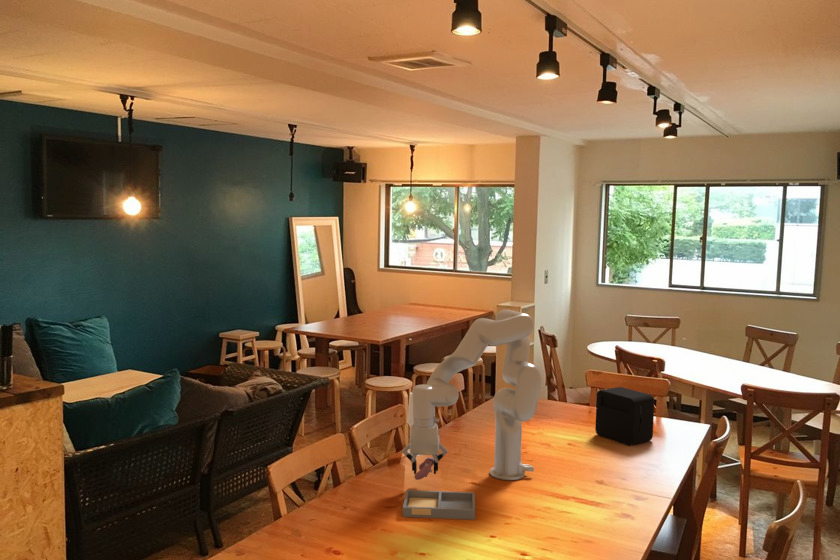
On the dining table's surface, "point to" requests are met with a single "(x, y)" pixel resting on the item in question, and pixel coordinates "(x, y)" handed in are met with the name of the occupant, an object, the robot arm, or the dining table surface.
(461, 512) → the tray
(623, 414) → the air purifier
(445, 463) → the dining table surface
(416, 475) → the purple-brown lumpy piece
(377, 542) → the dining table surface
